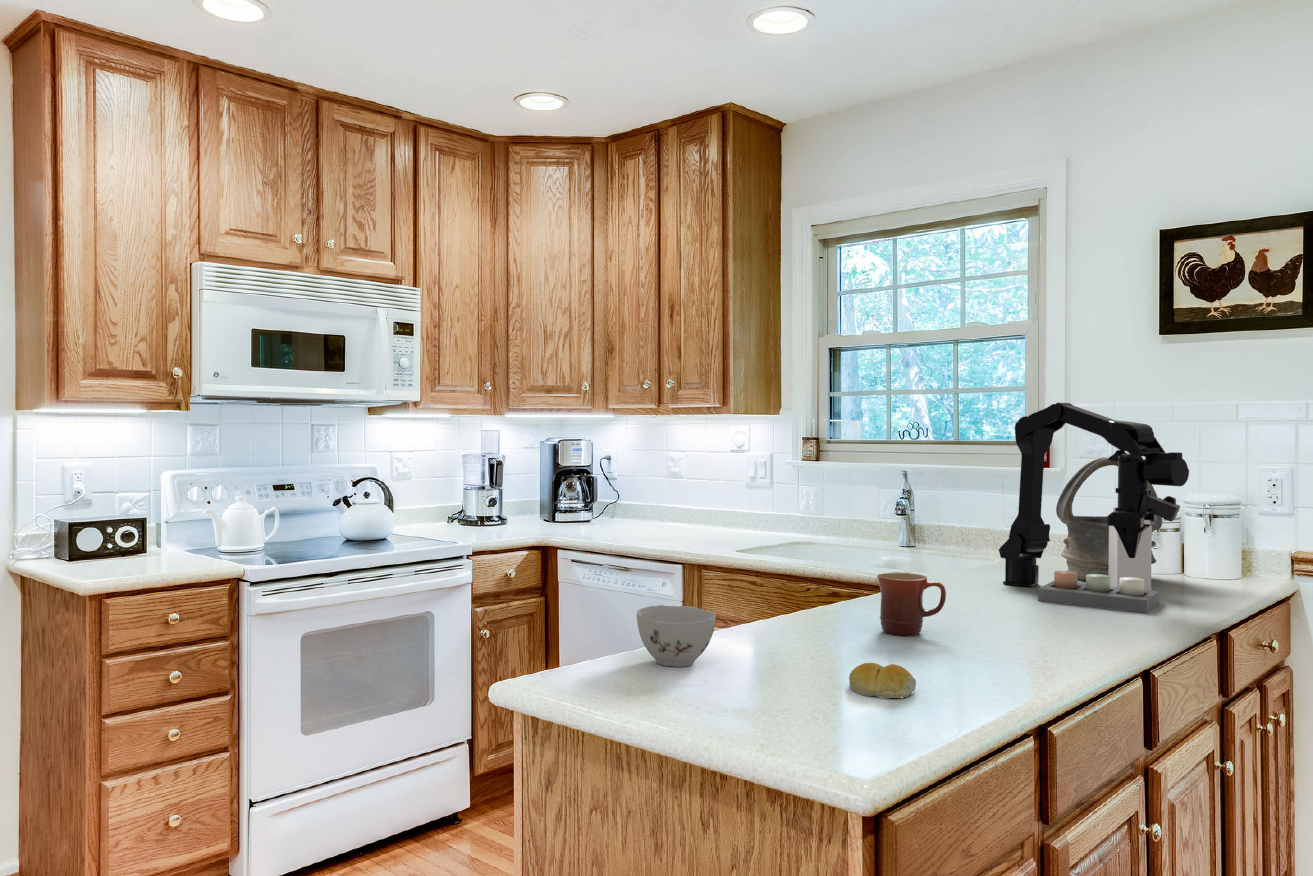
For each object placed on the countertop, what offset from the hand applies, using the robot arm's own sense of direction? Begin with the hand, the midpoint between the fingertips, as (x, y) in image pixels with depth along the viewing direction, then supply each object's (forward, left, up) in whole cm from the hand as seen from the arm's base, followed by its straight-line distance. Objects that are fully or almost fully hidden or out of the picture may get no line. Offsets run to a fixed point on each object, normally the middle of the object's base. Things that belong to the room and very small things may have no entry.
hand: (1132, 558), depth 193 cm
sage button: (-6, 0, -7) cm, 10 cm away
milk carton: (-4, +19, -10) cm, 22 cm away
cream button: (0, 0, -7) cm, 7 cm away
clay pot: (-12, +36, -10) cm, 39 cm away
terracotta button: (-13, 0, -7) cm, 15 cm away
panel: (-6, 0, -10) cm, 12 cm away
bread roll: (-15, -91, -10) cm, 93 cm away
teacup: (-47, -96, -10) cm, 107 cm away
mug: (-26, -54, -10) cm, 61 cm away
